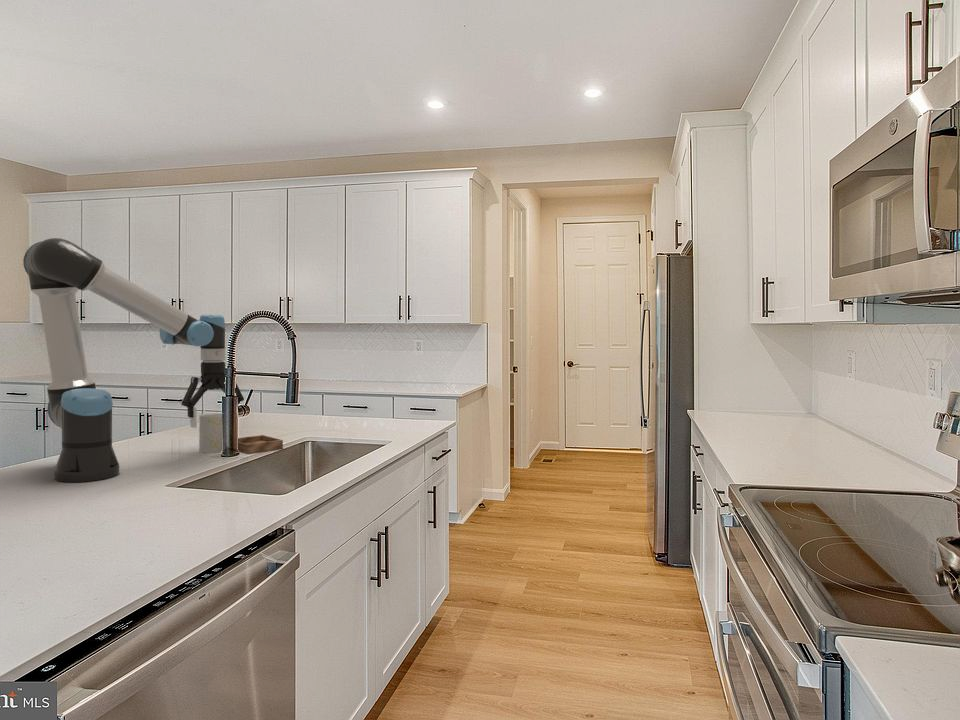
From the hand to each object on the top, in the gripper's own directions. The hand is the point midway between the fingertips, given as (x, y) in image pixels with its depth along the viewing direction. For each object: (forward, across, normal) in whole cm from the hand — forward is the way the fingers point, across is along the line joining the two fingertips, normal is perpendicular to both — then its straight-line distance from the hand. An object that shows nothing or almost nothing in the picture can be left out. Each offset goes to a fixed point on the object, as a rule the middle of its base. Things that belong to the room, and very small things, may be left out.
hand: (213, 424), depth 207 cm
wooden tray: (+9, +12, -6) cm, 16 cm away
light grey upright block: (+9, 0, 0) cm, 9 cm away
